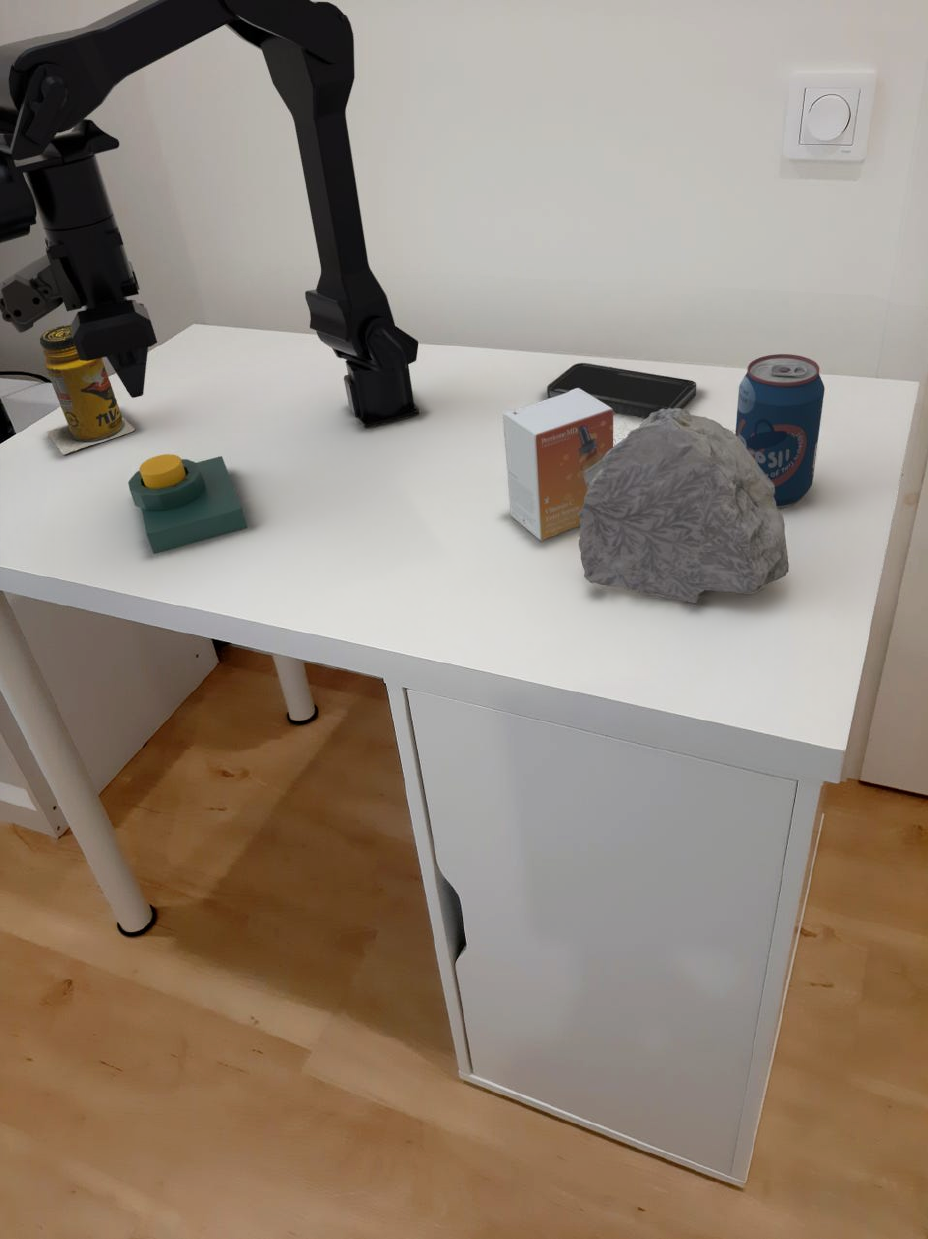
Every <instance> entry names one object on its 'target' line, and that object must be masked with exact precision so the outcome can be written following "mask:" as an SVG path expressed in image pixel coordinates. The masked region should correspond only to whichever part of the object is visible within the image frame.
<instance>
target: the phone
mask: <svg viewBox="0 0 928 1239" xmlns="http://www.w3.org/2000/svg"><path fill="white" fill-rule="evenodd" d="M576 388H579V389H581V390H583V391H584V392H586V393H588V394H589V395H591V396H593V397H594V398H596V399H598V400H599V401H601V402H603V403H604V404H606V405H607V406H609V407H610V408H612V409H613V413H618V414H624V415H629V416H635V417H640V418H645V419H646V418H648V417H649V415H650V414H651V413H653V412H657V411H659V410H661V409H666V410H667V409H675V408H680V409H683V408H685V407H686V406H687V404H688V403H689V402H691V401H692V400H693V399H694V398H695V397H696V395H697V382H696V381H694V380H691V379H686V378H680V377H675V376H673V377H672V376H668V375H661V374H654V373H648V372H642V371H636V370H630V369H625V368H618V367H612V366H605V365H601V364H593V363H587V362H579V363H575V364H573V365H571V366H570V367H569V368H568V369H566V370H565V371H564V372H563V373H561V375H559V376H558V377H557V378H555V379H554V380H553V381H552V382H550V383H549V384H548V385H547V386H546V390H547V399H549V398H552V397H555V396H558V395H561V394H564V393H567V392H569V391H571V390H573V389H576Z"/></svg>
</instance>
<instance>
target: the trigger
mask: <svg viewBox="0 0 928 1239" xmlns="http://www.w3.org/2000/svg"><path fill="white" fill-rule="evenodd" d="M181 459H182V458H181V457H180V456H179V455H177V454H171V453H170V454H169V453H168V454H160V455H155V456H153V457H150V458H148V459H147V460H145V461H143V462H142V464H140V466H139V470H140V472H141V475H142V478H143V481H144V484H145V486H146V487H147V488H149V489H161V488H165V487H169V486H172V485H175V484H177V483H179V482H180V481H182V480H184V478H185V477H186V473H185V470H184V467H183V464H182V460H181Z"/></svg>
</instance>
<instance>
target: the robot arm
mask: <svg viewBox="0 0 928 1239" xmlns="http://www.w3.org/2000/svg"><path fill="white" fill-rule="evenodd" d="M224 26H225V27H226V28H228V29H229V30H230V31H231V32H232V33H233V34H235V36H237V37H238V38H240V39H241V40H242V41H244V42H245V43H248V44H249V45H251V46H253V47H255V48H257V49H259V50H261V53H262V55H263V59H264V62H265V64H266V68H267V71H268V74H269V75H270V79H271V82H272V85H273V86H274V88H275V90H276V91H277V93H278V94H279V97H280V98H281V100H282V101H283V103H284V104H285V106H286V108H287V109H288V111H289V113H290V114H291V117H292V120H293V123H294V130H295V134H296V139H297V145H298V151H299V155H300V162H301V167H302V172H303V178H304V184H305V189H306V194H307V199H308V205H309V210H310V216H311V222H312V226H313V227H312V228H313V232H314V238H315V243H316V248H317V249H316V250H317V253H318V260H319V264H320V265H319V266H320V276H319V279H318V281H317V285H316V289H308V290H306V291H305V292H304V297H305V301H306V305H307V307H308V310H309V315H310V316H309V317H310V318H309V319H310V321H309V329H310V330H314V331H316V335H317V337H318V339H319V340H320V342H322V343H323V344H324V345H326V346H327V347H329V348H331V349H332V351H333V353H334V354H335V356H336V357H337V358H339V359H343V360H345V365H346V370H347V374H345V375H344V376H343V382H344V388H345V393H346V398H347V403H348V407H349V410H350V412H351V413H352V415H353V417H354V418H356V419H358V421H360V423H361V425H362V426H363V427H364V428H365V429H366V428H372V427H376V426H379V425H383V424H387V423H391V422H395V421H399V420H402V419H406V418H411V417H414V416H418V415H420V414H421V412H420V408H419V407H418V406H417V405H416V403H415V401H414V400H415V399H414V394H413V387H412V381H411V380H412V379H411V374H410V368H409V367H410V366H409V365H410V364H413V363H415V362H417V357H418V351H419V350H418V349H419V341H418V340H417V339H416V338H414V337H413V336H411V335H410V334H408V333H407V332H405V331H404V330H403V329H401V328H400V327H398V326H396V323H395V320H394V316H393V312H392V309H391V305H390V303H389V299H388V295H387V293H386V292H385V290H384V289H383V287H382V286H381V283H380V282H379V280H378V279H377V277H376V276H375V274H374V272H373V271H372V269H371V267H370V264H369V263H370V262H369V258H368V251H367V245H366V238H365V232H364V231H365V230H364V226H363V225H364V224H363V219H362V212H361V206H360V200H359V192H358V186H357V180H356V174H355V167H354V159H353V153H352V147H351V140H350V135H349V134H350V133H349V128H348V120H347V107H348V103H349V100H350V96H351V92H352V88H353V85H354V81H355V77H356V74H355V72H356V71H355V68H356V67H355V37H354V35H355V34H354V32H353V27H352V23H351V21H350V19H349V17H348V15H347V14H345V13H344V12H343V11H342V10H341V9H340V8H339V7H338V6H337V5H335V4H333V3H331V2H329V1H313V0H136V1H134V2H133V3H130V4H128V5H127V6H124V7H122V8H120V9H117V10H116V11H114V12H112V13H109V14H107V15H106V16H104V17H102V18H100V19H98V20H96V21H93V22H92V23H90V24H88V25H86V26H83V27H80V28H76V29H71V30H66V31H61V32H55V33H49V34H44V35H39V36H34V37H30V38H26V39H22V40H18V41H14V42H10V43H9V42H8V43H4V44H2V45H0V244H2V243H5V242H10V241H13V240H16V239H19V238H22V237H25V236H29V235H30V233H31V227H32V226H33V225H37V215H38V216H39V220H40V222H41V225H42V228H43V231H44V234H45V237H44V242H45V246H46V247H45V253H46V254H44V255H42V256H41V257H40V258H38V259H36V260H33V261H32V262H30V263H29V264H27V265H26V266H24V267H23V268H21V269H19V270H18V271H16V272H15V273H12V274H11V275H10V276H8V277H7V278H5V279H4V280H3V281H1V282H0V313H1V317H2V320H3V321H5V322H7V323H10V324H11V325H12V326H13V327H14V329H15V330H16V331H17V332H18V333H19V334H21V333H25V332H27V331H29V330H30V329H32V328H33V327H34V324H35V323H36V322H38V321H40V320H41V319H42V318H44V317H46V316H47V315H48V314H50V313H52V312H53V311H55V310H56V309H58V308H59V307H60V306H62V304H63V305H64V308H65V310H66V312H71V311H75V310H79V311H77V313H76V314H75V316H74V318H73V320H72V322H70V325H71V332H72V339H73V342H74V344H75V347H76V350H77V353H78V355H79V358H80V360H82V361H90V360H94V359H99V358H102V359H103V358H106V359H107V361H108V362H109V364H110V366H111V367H112V368H113V370H114V372H115V374H116V375H117V377H118V378H119V380H120V382H121V383H122V385H123V387H124V389H125V390H126V391H127V393H128V395H129V397H131V398H132V399H135V398H139V397H143V395H144V394H145V383H146V382H145V381H146V372H147V371H146V370H147V362H148V361H147V360H148V354H149V353H148V352H149V348H151V347H153V346H154V345H156V344H157V343H158V341H157V337H156V333H155V330H154V327H153V323H152V320H151V318H150V313H149V312H148V308H147V307H145V304H144V303H142V302H141V303H139V302H137V300H135V299H127V298H129V297H132V296H136V295H139V294H140V293H139V290H140V289H141V288H140V286H139V285H140V284H139V282H138V279H137V275H136V273H135V269H134V266H133V264H132V261H130V260H129V258H128V254H127V251H126V249H125V245H124V241H123V237H122V235H121V232H120V229H119V225H118V222H117V219H116V215H115V213H114V210H113V206H112V203H111V200H110V197H109V194H108V191H107V186H106V184H105V181H104V177H103V174H102V171H101V167H100V164H99V161H98V158H97V154H102V153H106V152H109V151H113V150H117V149H118V148H119V147H120V146H121V145H120V141H119V139H118V138H116V137H114V136H112V135H110V134H109V133H107V132H106V131H104V130H102V129H101V128H100V127H99V126H98V125H97V124H96V123H95V122H94V121H93V119H88V118H87V117H88V116H89V115H90V114H92V113H93V112H94V111H95V110H96V109H97V108H99V107H100V106H101V105H102V104H103V103H104V102H105V101H106V99H107V98H108V96H109V95H110V94H111V93H112V91H113V89H115V87H116V86H117V85H119V84H120V83H121V82H122V81H123V80H124V79H126V77H129V76H130V75H132V74H134V73H136V72H138V71H140V70H142V69H144V68H147V67H148V66H150V65H152V64H153V63H156V62H157V61H159V60H161V59H163V58H165V57H166V56H169V55H170V54H172V53H174V52H176V51H178V50H180V49H182V48H184V47H185V46H187V45H189V44H191V43H194V42H195V41H197V40H199V39H201V38H202V37H204V36H207V35H208V34H211V33H212V32H214V31H216V30H218V29H220V28H221V27H224ZM70 130H71V131H70ZM67 131H70V132H67ZM63 132H67V133H63ZM61 133H62V134H61ZM57 134H58V135H57ZM80 309H82V310H80Z"/></svg>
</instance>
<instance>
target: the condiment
mask: <svg viewBox="0 0 928 1239" xmlns="http://www.w3.org/2000/svg"><path fill="white" fill-rule="evenodd" d="M39 344H40V346H41V347H42V349H43V356H44V357H45V362H44V363H45V364H44V367H45V370H46V372H47V375H48V377H49V379H50V383H51V384H52V387H53V390H54V391H55V395H56V397H57V400H58V402H59V405H60V408H61V411H62V413H63V416H64V418H65V421H66V423H67V425H65V426H62V427H58V428H54V429H51V430H48V431H46V433H47V435H48V436H49V438H50V440H52V442H53V443H54V445H55V447H56V448H57V449H58V450H59V451H60V452H61V454H62V455H63V456H65V455H68V454H69V453H73V452H76V451H78V450H80V449H85V448H87V447H89V446H94V445H96V444H100V443H103V442H106V441H110V440H112V439H115V438H118V437H121V436H124V435H127V434H129V433H132V432H134V431H135V430H136V429H135V428H134V426H132V425H131V424H130V423H129V422H128V421H127V419H126V418H125V417H123V415H122V413H121V410H120V407H119V404H118V399H117V398H116V395H115V391H114V389H113V386H112V383H111V381H110V377H109V376H108V372H107V369H106V366H105V364H104V361H103V358H99V359H94V360H90V361H82V360H80V358H79V355H78V353H77V350H76V347H75V344H74V342H73V339H72V332H71V324H64V325H61V326H57V327H53V328H51V329H49V330H47V331H45V332H44V333H43V334H41V336H40V338H39Z"/></svg>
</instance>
